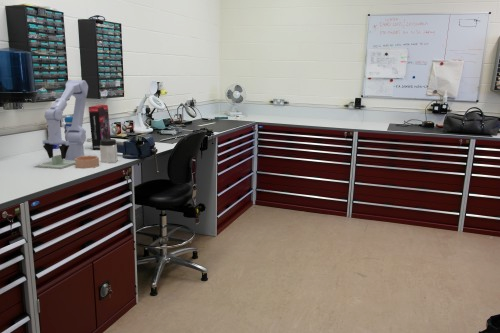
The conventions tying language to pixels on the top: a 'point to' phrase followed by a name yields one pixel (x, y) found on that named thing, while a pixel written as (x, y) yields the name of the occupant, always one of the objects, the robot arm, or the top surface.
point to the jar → (108, 150)
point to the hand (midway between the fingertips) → (57, 158)
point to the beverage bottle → (68, 123)
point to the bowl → (87, 162)
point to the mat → (56, 168)
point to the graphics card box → (99, 124)
